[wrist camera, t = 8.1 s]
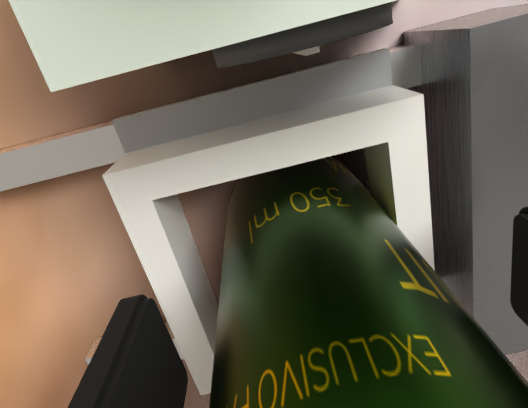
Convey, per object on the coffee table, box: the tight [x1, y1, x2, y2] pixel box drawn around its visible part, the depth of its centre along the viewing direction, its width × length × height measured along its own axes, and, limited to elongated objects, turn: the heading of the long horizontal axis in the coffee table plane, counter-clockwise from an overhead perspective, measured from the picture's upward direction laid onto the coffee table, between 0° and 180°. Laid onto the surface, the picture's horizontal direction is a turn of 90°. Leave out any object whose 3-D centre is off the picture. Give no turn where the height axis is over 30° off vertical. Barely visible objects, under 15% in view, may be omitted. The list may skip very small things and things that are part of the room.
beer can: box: [209, 157, 528, 408], centre depth 9 cm, size 5×5×12 cm
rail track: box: [0, 4, 528, 365], centre depth 13 cm, size 18×11×4 cm, turn 104°
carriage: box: [102, 48, 435, 395], centre depth 12 cm, size 8×11×2 cm
